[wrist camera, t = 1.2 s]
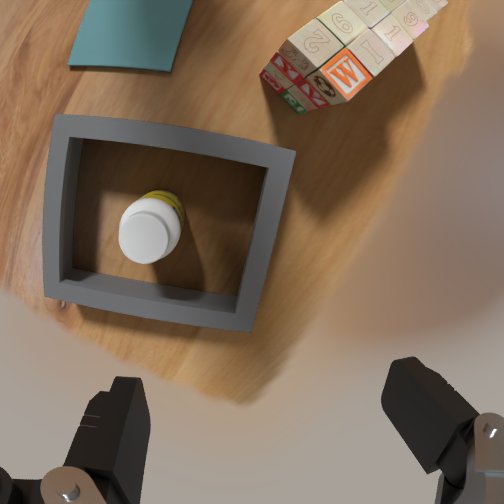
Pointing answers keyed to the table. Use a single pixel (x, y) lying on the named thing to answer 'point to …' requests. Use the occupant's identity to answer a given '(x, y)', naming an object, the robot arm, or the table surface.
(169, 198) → the supplement bottle
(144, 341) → the table surface
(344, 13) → the stack of blocks
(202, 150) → the box
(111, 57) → the mat
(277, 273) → the table surface
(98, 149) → the table surface
